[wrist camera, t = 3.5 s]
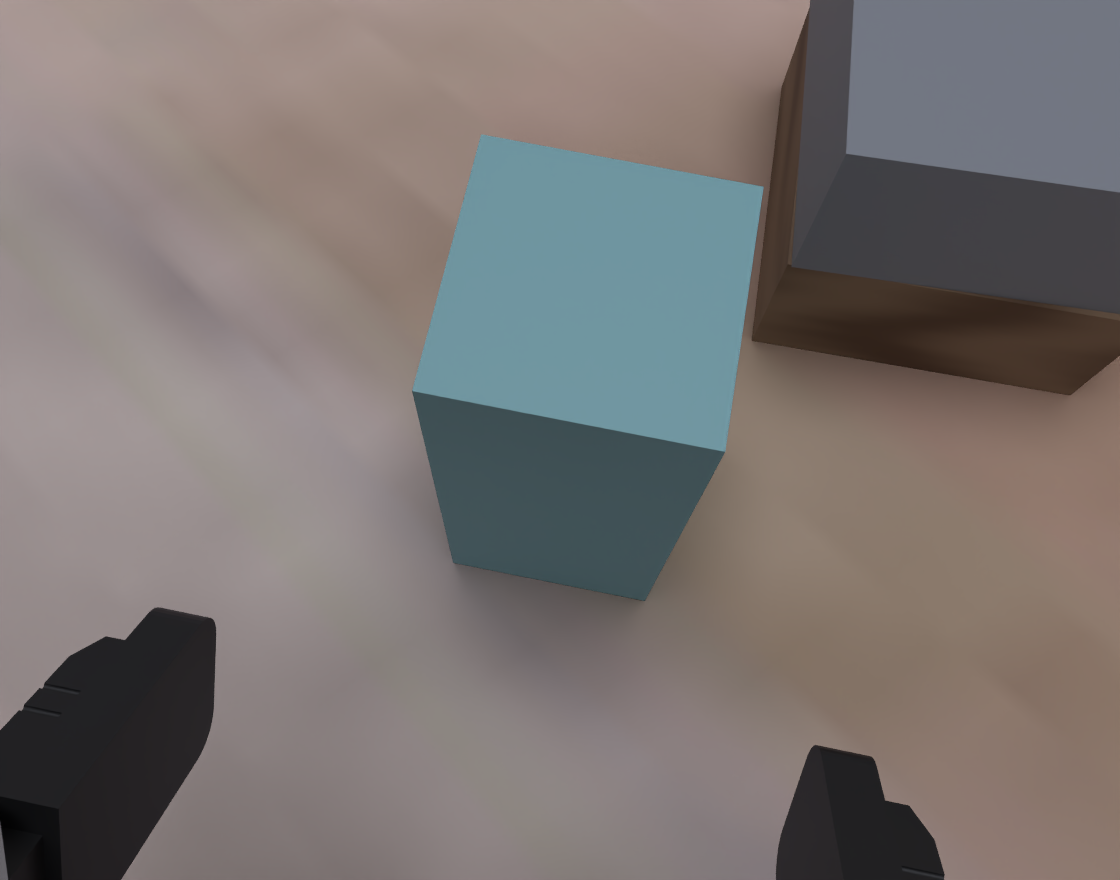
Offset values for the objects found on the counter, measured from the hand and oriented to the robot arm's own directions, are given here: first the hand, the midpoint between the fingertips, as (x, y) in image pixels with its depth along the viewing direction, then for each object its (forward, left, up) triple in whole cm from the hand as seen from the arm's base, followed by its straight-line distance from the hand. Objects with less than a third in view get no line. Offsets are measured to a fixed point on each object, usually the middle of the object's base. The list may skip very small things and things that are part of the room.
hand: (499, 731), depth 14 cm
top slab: (+4, +19, -8) cm, 21 cm away
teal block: (-2, +7, -12) cm, 14 cm away
